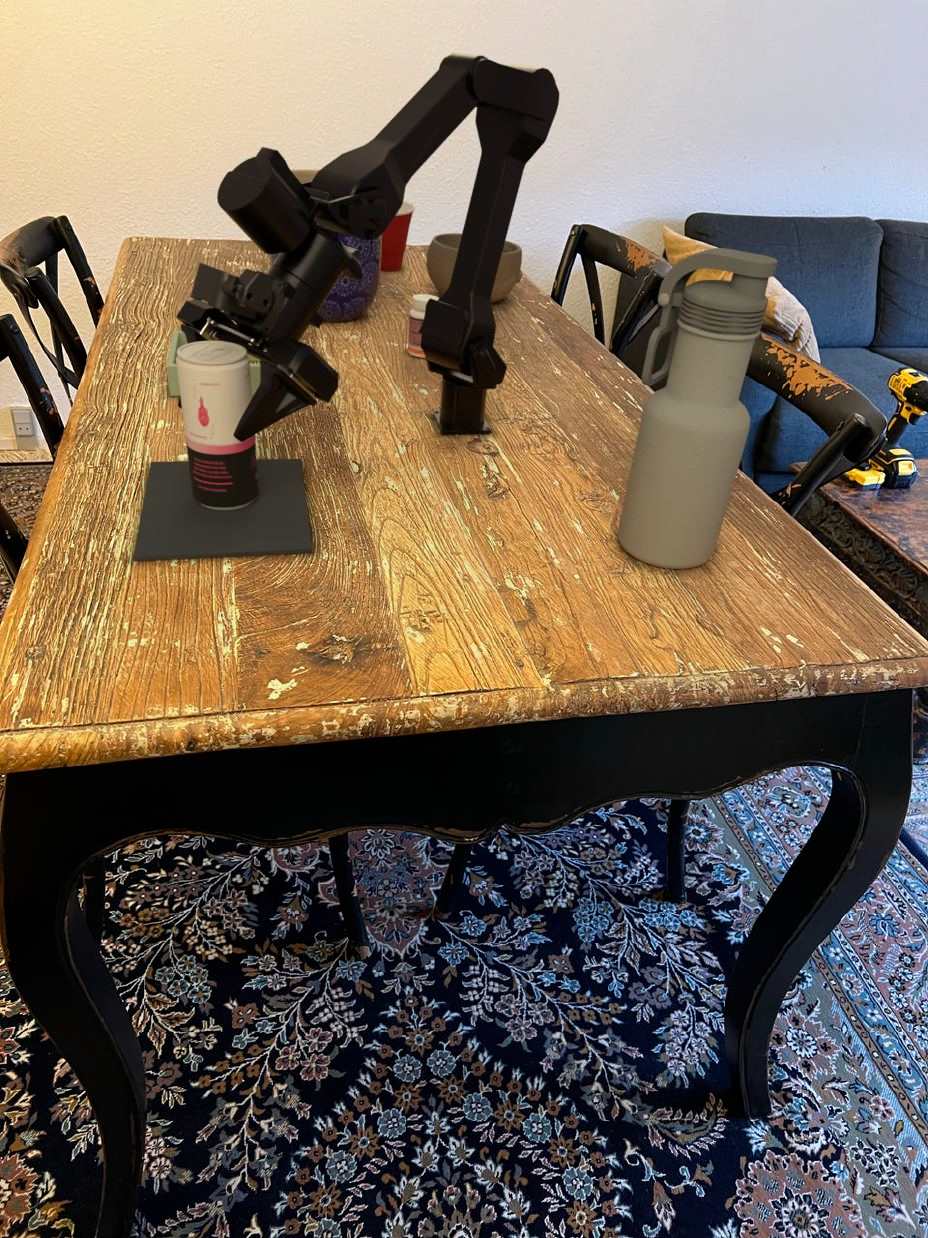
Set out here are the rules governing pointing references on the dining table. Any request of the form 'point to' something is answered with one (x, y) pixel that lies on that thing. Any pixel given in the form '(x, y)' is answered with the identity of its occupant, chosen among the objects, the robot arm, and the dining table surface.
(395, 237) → the plastic cup
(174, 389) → the basin
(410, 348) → the pill bottle
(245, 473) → the beverage can
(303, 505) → the mat
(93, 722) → the dining table surface
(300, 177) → the planter
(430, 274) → the bowl
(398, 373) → the dining table surface
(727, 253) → the water bottle
